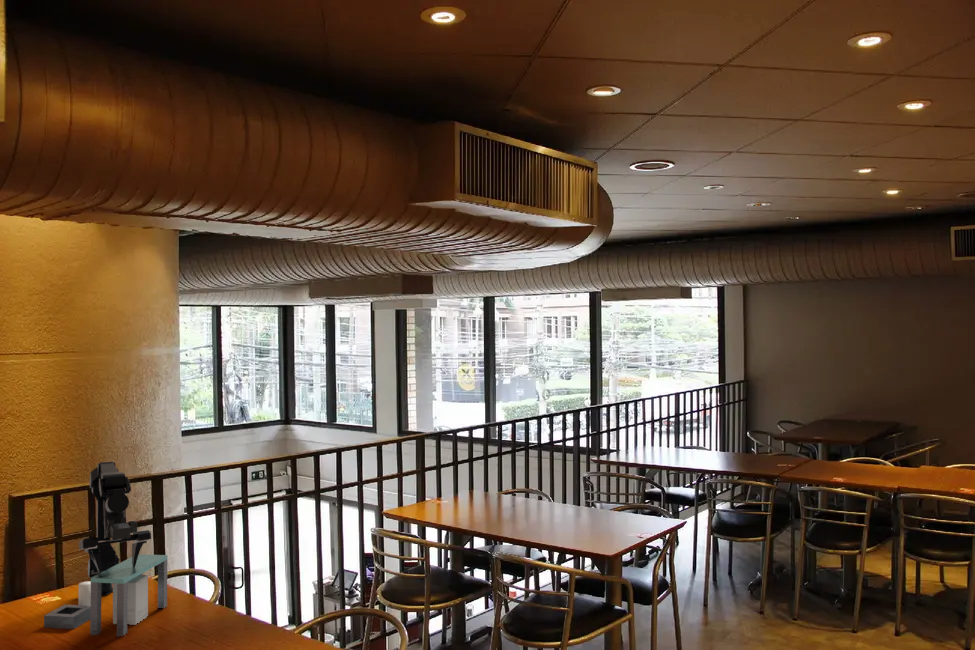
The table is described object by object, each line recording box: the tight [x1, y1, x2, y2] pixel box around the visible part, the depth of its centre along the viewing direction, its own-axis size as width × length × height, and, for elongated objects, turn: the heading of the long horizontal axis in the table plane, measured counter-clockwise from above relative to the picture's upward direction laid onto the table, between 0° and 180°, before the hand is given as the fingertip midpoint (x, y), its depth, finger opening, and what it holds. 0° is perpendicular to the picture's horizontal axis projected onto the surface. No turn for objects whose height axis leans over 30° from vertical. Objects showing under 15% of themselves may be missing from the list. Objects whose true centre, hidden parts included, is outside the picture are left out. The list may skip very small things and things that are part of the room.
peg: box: [77, 580, 91, 606], centre depth 245 cm, size 4×4×8 cm
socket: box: [43, 604, 91, 630], centre depth 233 cm, size 9×9×4 cm
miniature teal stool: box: [89, 553, 169, 637], centre depth 236 cm, size 24×10×16 cm, turn 174°
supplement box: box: [112, 574, 149, 626], centre depth 236 cm, size 7×7×13 cm
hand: (117, 569), depth 231 cm, fingers open, 9 cm apart
